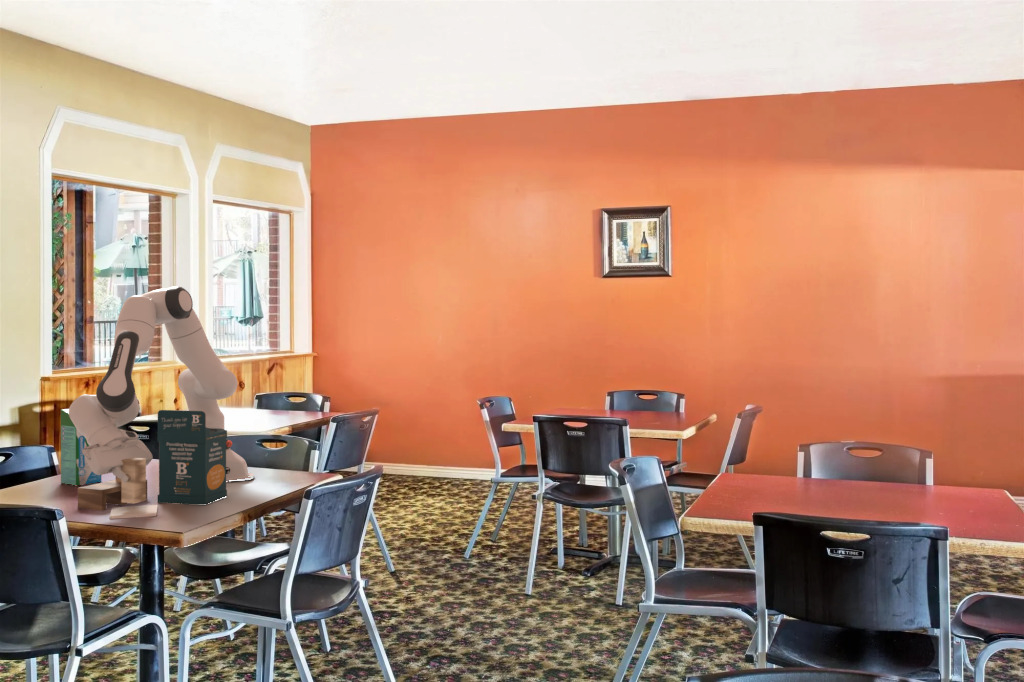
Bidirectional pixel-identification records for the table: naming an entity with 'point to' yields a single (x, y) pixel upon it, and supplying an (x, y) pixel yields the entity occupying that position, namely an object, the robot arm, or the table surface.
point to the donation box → (190, 458)
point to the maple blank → (134, 480)
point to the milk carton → (74, 454)
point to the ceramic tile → (133, 511)
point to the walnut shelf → (100, 495)
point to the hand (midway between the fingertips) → (135, 479)
